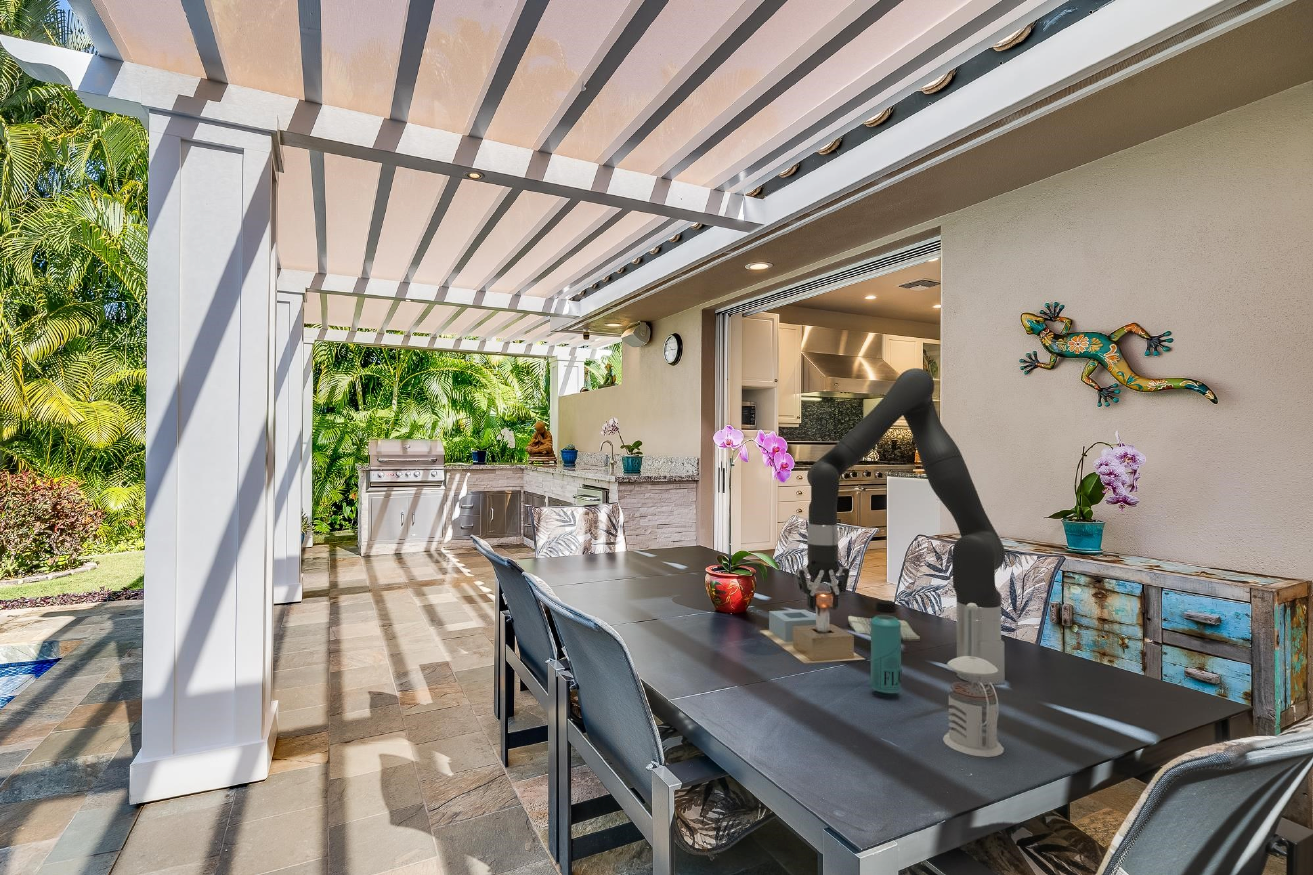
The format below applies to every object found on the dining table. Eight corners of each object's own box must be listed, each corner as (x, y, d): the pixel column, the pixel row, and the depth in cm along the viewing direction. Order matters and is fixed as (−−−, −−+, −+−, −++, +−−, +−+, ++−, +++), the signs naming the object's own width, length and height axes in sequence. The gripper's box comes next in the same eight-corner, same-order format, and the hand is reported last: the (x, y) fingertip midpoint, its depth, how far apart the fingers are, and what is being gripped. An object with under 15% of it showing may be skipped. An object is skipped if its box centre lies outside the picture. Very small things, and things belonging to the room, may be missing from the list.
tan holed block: (853, 658, 158) (853, 635, 158) (812, 661, 156) (812, 638, 156) (832, 645, 169) (832, 624, 169) (793, 647, 166) (793, 626, 167)
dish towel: (922, 644, 177) (922, 632, 177) (855, 640, 180) (855, 629, 180) (907, 626, 196) (907, 615, 196) (846, 623, 199) (846, 613, 199)
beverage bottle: (881, 702, 134) (881, 605, 135) (863, 690, 141) (863, 598, 141) (908, 699, 136) (908, 603, 136) (889, 688, 142) (889, 596, 143)
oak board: (865, 665, 158) (865, 659, 158) (804, 669, 154) (804, 663, 154) (811, 632, 186) (811, 627, 186) (759, 635, 182) (759, 630, 182)
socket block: (823, 639, 174) (823, 619, 174) (785, 642, 171) (785, 621, 171) (805, 628, 184) (805, 609, 185) (769, 630, 182) (769, 611, 182)
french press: (984, 731, 120) (984, 596, 121) (1022, 761, 109) (1021, 612, 109) (933, 732, 120) (932, 596, 120) (965, 761, 108) (964, 612, 109)
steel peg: (837, 655, 160) (837, 594, 161) (817, 656, 159) (817, 595, 159) (827, 649, 165) (827, 590, 166) (808, 650, 164) (808, 591, 165)
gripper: (802, 544, 158) (802, 614, 157) (856, 543, 161) (856, 611, 160) (790, 540, 165) (790, 607, 165) (841, 539, 168) (841, 604, 168)
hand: (822, 609), depth 162 cm, fingers closed on steel peg, 5 cm apart
